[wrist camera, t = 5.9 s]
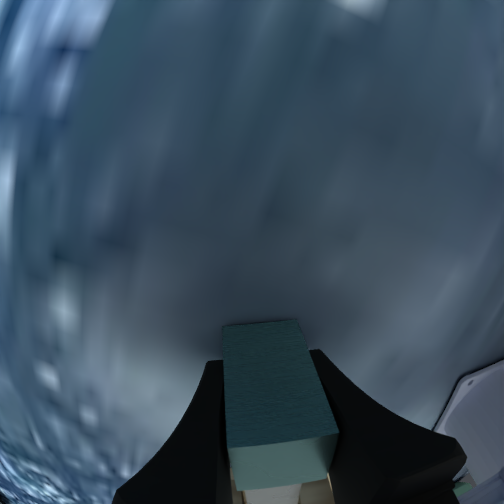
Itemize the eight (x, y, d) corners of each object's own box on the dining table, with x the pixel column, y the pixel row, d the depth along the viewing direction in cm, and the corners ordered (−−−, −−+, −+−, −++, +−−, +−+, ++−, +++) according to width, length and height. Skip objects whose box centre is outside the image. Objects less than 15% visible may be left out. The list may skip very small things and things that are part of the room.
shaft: (296, 319, 13) (339, 432, 7) (283, 516, 21) (292, 565, 16) (222, 326, 12) (227, 448, 7) (252, 520, 21) (258, 569, 16)
